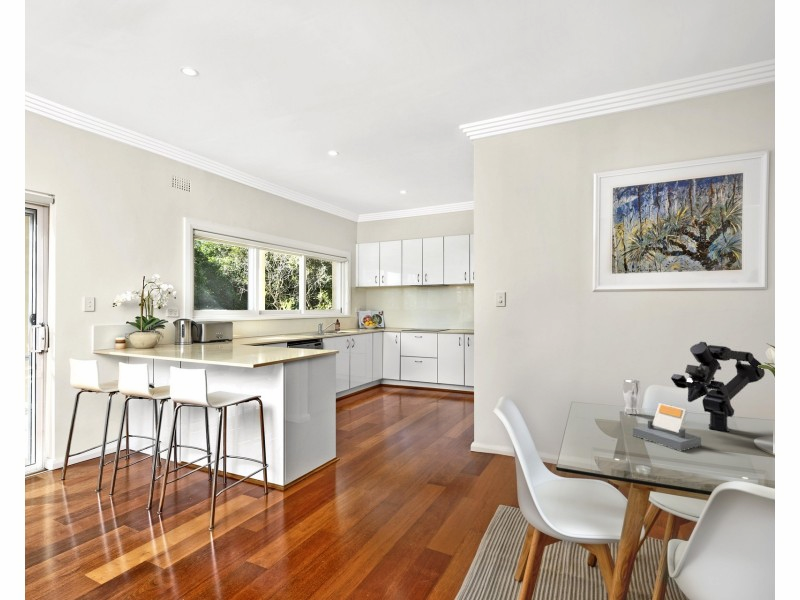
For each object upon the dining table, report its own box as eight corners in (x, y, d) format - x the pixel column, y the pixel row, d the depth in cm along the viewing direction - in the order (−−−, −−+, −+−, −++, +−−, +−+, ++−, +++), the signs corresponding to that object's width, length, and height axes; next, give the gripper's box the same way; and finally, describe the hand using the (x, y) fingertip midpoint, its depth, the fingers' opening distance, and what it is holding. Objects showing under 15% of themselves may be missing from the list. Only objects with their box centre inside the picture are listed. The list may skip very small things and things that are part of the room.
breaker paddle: (654, 426, 166) (661, 404, 167) (680, 434, 157) (688, 410, 158) (651, 424, 165) (658, 402, 167) (678, 432, 156) (685, 409, 158)
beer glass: (619, 412, 199) (619, 380, 199) (630, 410, 202) (630, 379, 202) (632, 416, 193) (632, 383, 193) (643, 414, 195) (643, 381, 195)
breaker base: (653, 431, 172) (653, 416, 172) (700, 446, 155) (701, 429, 155) (632, 435, 166) (633, 420, 166) (680, 451, 150) (680, 434, 150)
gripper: (674, 354, 177) (656, 383, 173) (724, 360, 160) (706, 393, 156) (685, 371, 181) (668, 400, 176) (735, 380, 164) (718, 412, 159)
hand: (689, 401), depth 167 cm, fingers closed
